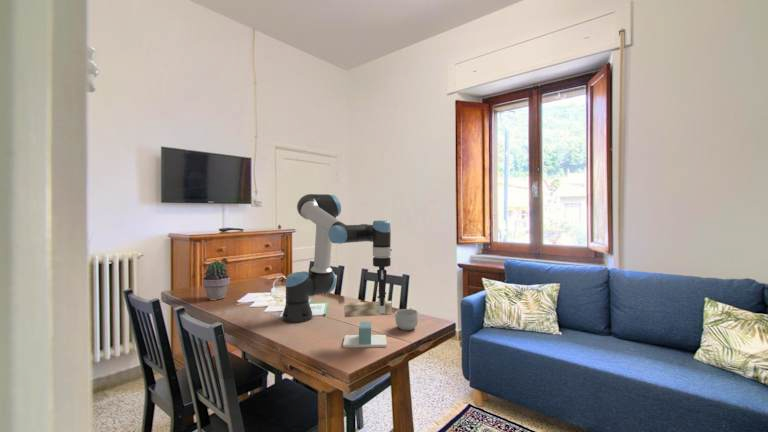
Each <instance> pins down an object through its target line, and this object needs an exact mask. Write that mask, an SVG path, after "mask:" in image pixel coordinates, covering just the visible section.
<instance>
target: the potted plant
mask: <svg viewBox="0 0 768 432" xmlns="http://www.w3.org/2000/svg"><path fill="white" fill-rule="evenodd" d="M228 264H229V260H228V258H227V257H223V258H221V260H218V261H217V260H215V261H212V262H210V263H209V264H208V265H207V268H206V270H205V271H204V272H203V274H201V275H205V276H204V277H202V278H200V279H201V280H202V286H204V290H205V293H206V297H207V300H208V299H221V298H224V297H225V298H226V295H227V291H228V287H229V284H230V280H231V277H230V276H229V275H227V274H228V272H229V271H228V270H227V268H228V267H229V266H227V265H228ZM225 298H224V299H225Z"/></svg>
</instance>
